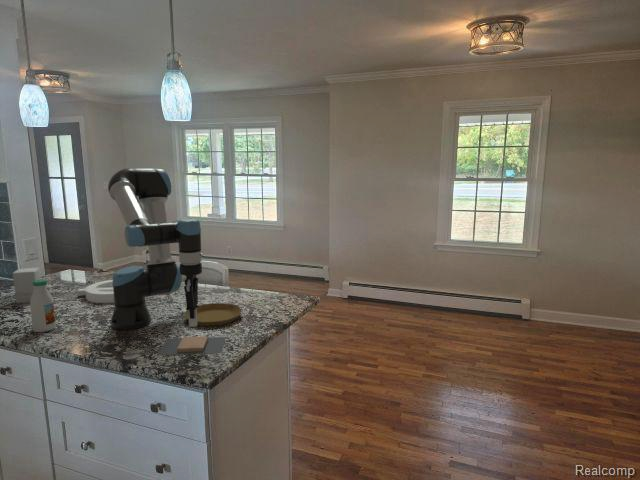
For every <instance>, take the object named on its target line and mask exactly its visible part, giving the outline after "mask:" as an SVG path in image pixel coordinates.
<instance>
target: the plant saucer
mask: <svg viewBox="0 0 640 480" xmlns="http://www.w3.org/2000/svg"><path fill="white" fill-rule="evenodd" d="M198 305H199V304H198ZM196 308H197V326H200V327H217V326H222V325H226V324H227V325H228V324H229V323H232V322H234V321H236V320H237V319H238V318H239V317H240V316H241V314H242V311H243V310H242V308H241V307H240V306H238V305H236V304H231V303H224V302H223V303H222V302H221V303H220V302H216V303H215V302H214V303H206V304H200V305H199V307H196ZM184 317H185V319H186V320H187V321H188V322H189V313H188V310H186V311H185V312H184Z"/></svg>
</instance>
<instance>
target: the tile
mask: <svg viewBox="0 0 640 480" xmlns="http://www.w3.org/2000/svg"><path fill="white" fill-rule="evenodd" d="M182 338H183V339H182V340H181V342H180V344H179V346H178V347H177V351H178V352H190V351H203V350H204V347H205V345H206V342H207V340H208V338H209V337H208V336H205V335H204V336H183V337H182Z"/></svg>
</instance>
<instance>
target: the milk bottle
mask: <svg viewBox="0 0 640 480" xmlns="http://www.w3.org/2000/svg"><path fill="white" fill-rule="evenodd" d="M47 286H48V282H47V279H44V278H43V279H42V278H41V280H35V281H33V287H34V291H33V294H32V297H31V300H30V302H29V305H30V306H29V307H30V317H31V326H32V331H33V332H35V333H45V332H50V331H53V330H54V329H55V328H56V327H57V326H56V323H57V322H56V314H55V305H54V299H53V296H52V294H51V293H50V292H49V290H48V288H47Z"/></svg>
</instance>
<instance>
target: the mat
mask: <svg viewBox="0 0 640 480" xmlns="http://www.w3.org/2000/svg"><path fill="white" fill-rule="evenodd" d="M182 339H183V337H180V338H177V337H176V338H166V340H165V341H164V342H163V344H162V346H161V347H160V349H159V350H158V352H157V354H156V356H174V355H175V356H177V355H178V356H179V355H207V354H209V355H211V354H222V352H223V349H224V347H225V344H226V339H227V336H218V337H217V336H216V337H213V336H212V337H208V340H207V342H206V345H205V347H204V350H203V351H190V352H178V351H177V347H178V346H179V344H180V342H181V340H182Z"/></svg>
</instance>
